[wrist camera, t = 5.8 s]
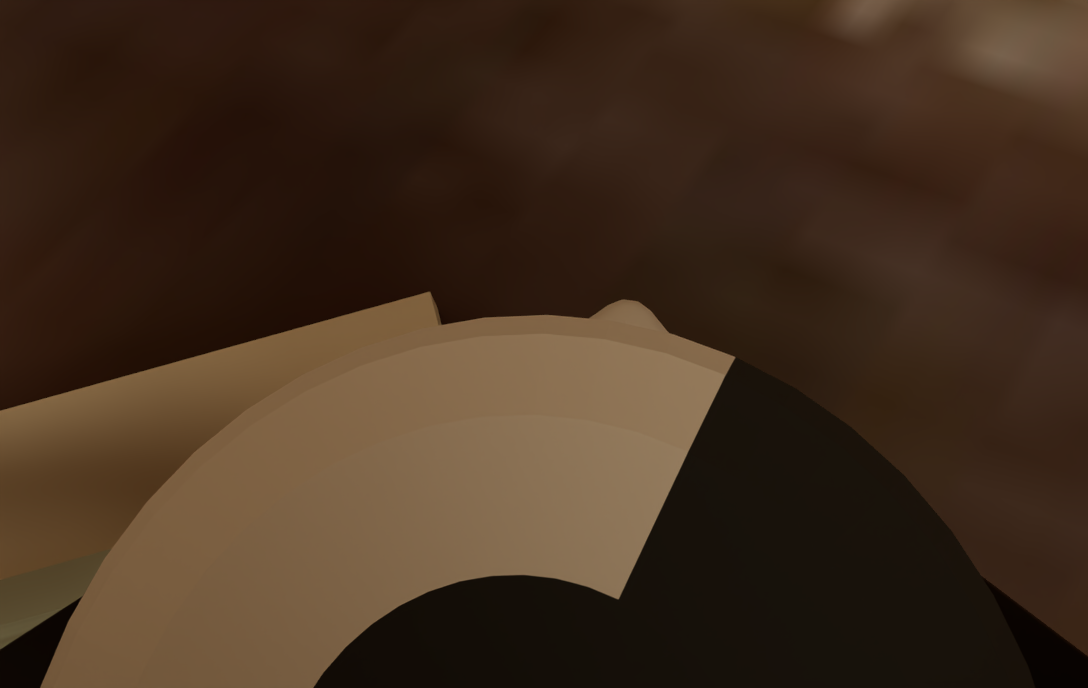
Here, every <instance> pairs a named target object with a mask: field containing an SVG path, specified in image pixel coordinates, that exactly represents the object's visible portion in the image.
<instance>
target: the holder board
mask: <svg viewBox="0 0 1088 688" xmlns="http://www.w3.org/2000/svg"><path fill="white" fill-rule="evenodd" d="M440 325H442V324H441V320H440V316H439V312H438V308H437V306H436V304H435V301H434V299H433V297H432V295H431V293H430V292H427V293H423V294H419V295H416V296H412V297H409V298H405V299H401V300H398V301H394V302H391V303H387V304H383V305H380V306H376V307H373V308H369V309H365V310H362V311H358V312H355V313H351V314H347V315H344V316H340V317H337V318H333V319H329V320H326V321H322V322H319V323H315V324H311V325H308V326H304V327H301V328H297V329H293V330H290V331H286V332H283V333H279V334H275V335H272V336H268V337H265V338H261V339H257V340H254V341H250V342H246V343H243V344H239V345H236V346H232V347H228V348H225V349H221V350H218V351H214V352H210V353H207V354H203V355H200V356H196V357H192V358H189V359H185V360H182V361H178V362H174V363H171V364H167V365H164V366H160V367H156V368H153V369H149V370H146V371H142V372H138V373H135V374H131V375H128V376H124V377H120V378H117V379H113V380H110V381H106V382H102V383H99V384H95V385H91V386H88V387H84V388H81V389H77V390H73V391H70V392H66V393H63V394H59V395H55V396H52V397H48V398H45V399H41V400H37V401H34V402H30V403H27V404H23V405H19V406H16V407H12V408H9V409H5V410H1V411H0V649H1V648H3V647H5V646H6V645H8V644H9V643H11V642H12V641H14V640H15V639H17V638H18V637H20V636H21V635H23V634H25V633H26V632H28V631H29V630H31V629H32V628H34V627H35V626H37V625H38V624H40V623H42V622H43V621H45V620H46V619H48V618H49V617H51V616H52V615H54V614H55V613H57V612H59V611H60V610H62V609H63V608H65V607H66V606H68V605H69V604H71V603H72V602H74V601H76V600H77V599H79V598H80V597H82V596H83V595H84V593H85V592H86V590H87V588H88V586H89V585H90V583H91V581H92V579H93V578H94V576H95V574H96V573H97V571H98V569H99V567H100V566H101V564H102V562H103V560H104V559H105V557H106V556H107V555H108V553H109V552H110V551H111V549H112V548H113V547H114V545H115V544H116V542H117V541H118V540H119V538H120V537H121V536H122V534H123V533H124V532H125V530H126V529H127V528H128V526H129V525H130V524H131V522H132V521H133V520H134V518H135V517H136V516H137V514H138V513H139V512H140V510H141V509H142V508H143V506H144V505H145V504H146V502H147V501H148V500H149V499H150V498H151V497H152V496H153V495H154V494H155V493H156V492H157V491H158V490H159V489H160V488H161V487H162V486H163V484H164V483H165V482H166V481H167V480H168V479H169V478H170V477H171V476H172V475H173V474H174V473H175V472H176V471H177V470H178V469H179V468H180V467H181V466H182V465H183V464H184V463H185V461H186V460H187V459H188V458H189V457H190V456H191V455H192V454H193V453H194V452H195V451H196V450H198V449H199V448H200V447H201V446H203V445H204V444H205V443H206V442H207V441H209V440H210V439H211V438H212V437H214V436H215V435H216V434H217V433H219V432H220V431H221V430H222V429H223V428H225V427H226V426H227V425H228V424H230V423H231V422H232V421H233V420H234V419H236V418H237V417H238V416H239V415H241V414H242V413H243V412H244V411H246V410H247V409H248V408H250V407H252V406H253V405H255V404H256V403H258V402H260V401H261V400H263V399H264V398H266V397H268V396H269V395H271V394H272V393H274V392H276V391H277V390H279V389H280V388H282V387H284V386H285V385H287V384H288V383H290V382H292V381H293V380H295V379H296V378H298V377H300V376H301V375H303V374H305V373H307V372H309V371H312V370H314V369H316V368H318V367H320V366H322V365H325V364H327V363H329V362H331V361H333V360H335V359H338V358H340V357H342V356H344V355H346V354H348V353H351V352H353V351H355V350H357V349H359V348H362V347H365V346H368V345H371V344H374V343H378V342H381V341H384V340H387V339H390V338H394V337H397V336H400V335H403V334H406V333H410V332H413V331H416V330H419V329H423V328H428V327H434V326H440Z"/></svg>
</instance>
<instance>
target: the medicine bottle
mask: <svg viewBox="0 0 1088 688" xmlns="http://www.w3.org/2000/svg"><path fill="white" fill-rule="evenodd" d="M40 688H1035V685H1034V682H1033V679H1032V676H1031V673H1030V670H1029V667H1028V665H1027V663H1026V661H1025V659H1024V657H1023V655H1022V653H1021V650H1020V648H1019V646H1018V644H1017V642H1016V640H1015V638H1014V636H1013V634H1012V632H1011V630H1010V628H1009V626H1008V624H1007V622H1006V620H1005V618H1004V616H1003V614H1002V612H1001V610H1000V607H999V605H998V603H997V601H996V599H995V597H994V595H993V594H992V592H991V591H990V589H989V587H988V586H987V584H986V583H985V581H984V580H983V578H982V577H981V575H980V574H979V572H978V571H977V569H976V568H975V566H974V565H973V563H972V562H971V560H970V558H969V557H968V555H967V554H966V552H965V551H964V549H963V548H962V546H961V545H960V543H959V542H958V540H957V539H956V537H955V536H954V534H953V533H952V531H951V530H950V529H949V528H948V526H947V525H946V524H945V523H944V522H943V521H942V519H941V518H940V517H939V516H938V515H937V513H936V512H935V511H934V510H933V509H932V508H931V506H930V505H929V504H928V503H927V502H926V501H925V499H924V498H923V497H922V496H921V495H920V494H919V492H918V491H917V490H916V489H915V488H914V486H913V485H912V484H911V483H910V482H909V481H908V479H907V478H906V477H905V476H904V475H903V474H902V473H901V472H900V471H899V470H898V469H896V468H895V467H894V466H893V465H892V464H891V463H890V462H889V461H888V460H887V459H885V458H884V457H883V456H882V455H881V454H880V453H879V452H878V451H877V450H876V449H874V448H873V447H872V446H871V445H870V444H869V443H868V442H867V441H866V440H865V439H863V438H862V437H861V436H860V435H859V434H858V433H857V432H856V431H855V430H854V429H852V428H851V427H850V426H848V425H847V424H846V423H844V422H843V421H841V420H840V419H838V418H837V417H836V416H834V415H833V414H831V413H830V412H828V411H827V410H826V409H824V408H823V407H821V406H820V405H818V404H817V403H816V402H814V401H813V400H811V399H810V398H808V397H807V396H806V395H804V394H803V393H801V392H800V391H798V390H797V389H795V388H794V387H792V386H790V385H788V384H786V383H784V382H782V381H780V380H778V379H776V378H775V377H773V376H771V375H769V374H767V373H765V372H763V371H761V370H759V369H757V368H755V367H753V366H752V365H750V364H748V363H746V362H744V361H742V360H740V359H738V358H736V357H734V356H731V355H728V354H726V353H723V352H720V351H717V350H715V349H712V348H709V347H706V346H704V345H701V344H698V343H695V342H693V341H690V340H687V339H685V338H682V337H679V336H676V335H673V334H669V333H668V332H667V330H666V329H665V328H664V327H663V325H662V324H661V323H660V322H659V320H658V319H657V318H656V317H655V316H654V314H653V313H652V312H651V311H650V310H649V309H648V308H646V307H645V306H643V305H642V304H641V303H639V302H638V301H631V300H620V301H617V302H615V303H612V304H609V305H608V306H606V307H605V308H603V309H602V310H600V311H599V312H598V313H596V314H595V315H593V316H592V317H590V318H589V319H588V318H576V317H565V316H554V315H535V316H512V317H489V318H480V319H474V320H468V321H463V322H457V323H451V324H446V325H440V326H434V327H428V328H423V329H419V330H416V331H413V332H410V333H406V334H403V335H400V336H397V337H394V338H390V339H387V340H384V341H381V342H378V343H374V344H371V345H368V346H365V347H362V348H359V349H357V350H355V351H353V352H351V353H348V354H346V355H344V356H342V357H340V358H338V359H335V360H333V361H331V362H329V363H327V364H325V365H322V366H320V367H318V368H316V369H314V370H312V371H309V372H307V373H305V374H303V375H301V376H300V377H298V378H296V379H295V380H293V381H292V382H290V383H288V384H287V385H285V386H284V387H282V388H280V389H279V390H277V391H276V392H274V393H272V394H271V395H269V396H268V397H266V398H264V399H263V400H261V401H260V402H258V403H256V404H255V405H253V406H252V407H250V408H248V409H247V410H246V411H244V412H243V413H242V414H241V415H239V416H238V417H237V418H236V419H234V420H233V421H232V422H231V423H230V424H228V425H227V426H226V427H225V428H223V429H222V430H221V431H220V432H219V433H217V434H216V435H215V436H214V437H212V438H211V439H210V440H209V441H207V442H206V443H205V444H204V445H203V446H201V447H200V448H199V449H198V450H196V451H195V452H194V453H193V454H192V455H191V456H190V457H189V458H188V459H187V460H186V461H185V463H184V464H183V465H182V466H181V467H180V468H179V469H178V470H177V471H176V472H175V473H174V474H173V475H172V476H171V477H170V478H169V479H168V480H167V481H166V482H165V483H164V484H163V486H162V487H161V488H160V489H159V490H158V491H157V492H156V493H155V494H154V495H153V496H152V497H151V498H150V499H149V500H148V501H147V502H146V504H145V505H144V506H143V508H142V509H141V510H140V512H139V513H138V514H137V516H136V517H135V518H134V520H133V521H132V522H131V524H130V525H129V526H128V528H127V529H126V530H125V532H124V533H123V534H122V536H121V537H120V538H119V540H118V541H117V542H116V544H115V545H114V547H113V548H112V549H111V551H110V552H109V553H108V555H107V556H106V557H105V559H104V560H103V562H102V564H101V566H100V567H99V569H98V571H97V573H96V574H95V576H94V578H93V579H92V581H91V583H90V585H89V586H88V588H87V590H86V592H85V593H84V595H83V597H82V599H81V600H80V602H79V604H78V606H77V607H76V609H75V611H74V613H73V614H72V616H71V618H70V620H69V621H68V624H67V626H66V628H65V631H64V633H63V635H62V638H61V640H60V642H59V645H58V647H57V649H56V652H55V654H54V656H53V659H52V661H51V664H50V666H49V668H48V671H47V673H46V675H45V678H44V680H43V682H42V685H41V687H40Z"/></svg>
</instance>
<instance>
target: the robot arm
mask: <svg viewBox="0 0 1088 688" xmlns="http://www.w3.org/2000/svg"><path fill="white" fill-rule="evenodd" d="M981 577H982V576H981ZM982 578H983V577H982ZM983 580H984V581H985V583H986V584H987V586H988V587H989V589H990V591H991V592H992V594H993V595H994V597H995V599H996V601H997V603H998V605H999V607H1000V610H1001V612H1002V614H1003V616H1004V618H1005V620H1006V622H1007V624H1008V626H1009V628H1010V630H1011V632H1012V634H1013V636H1014V638H1015V640H1016V642H1017V644H1018V646H1019V648H1020V650H1021V653H1022V655H1023V657H1024V659H1025V661H1026V663H1027V665H1028V667H1029V670H1030V673H1031V676H1032V679H1033V682H1034V685H1035V688H1088V656H1087V655H1085V654H1084V653H1083V652H1081V651H1080V650H1079V649H1077V648H1076V647H1075V646H1073V645H1072V644H1071V643H1069V642H1068V641H1067V640H1065V639H1064V638H1063V637H1062V636H1060V635H1059V634H1058V633H1056V632H1055V631H1054V630H1052V629H1051V628H1050V627H1048V626H1047V625H1046V624H1044V623H1043V622H1042V621H1040V620H1039V619H1038V618H1036V617H1035V616H1034V615H1032V614H1031V613H1030V612H1028V611H1027V610H1026V609H1024V608H1023V607H1022V606H1020V605H1019V604H1018V603H1017V602H1015V601H1014V600H1013V599H1011V598H1010V597H1009V596H1007V595H1006V594H1005V593H1003V592H1002V591H1001V590H999V589H998V588H997V587H995V586H994V585H993V584H991V583H990V582H989V581H987V580H986V579H985V578H983ZM82 597H83V596H82ZM82 597H80V598H79V599H77V600H76V601H74V602H72V603H71V604H69V605H68V606H66V607H65V608H63V609H62V610H60V611H59V612H57V613H55V614H54V615H52V616H51V617H49V618H48V619H46V620H45V621H43V622H42V623H40V624H38V625H37V626H35V627H34V628H32V629H31V630H29V631H28V632H26V633H25V634H23V635H21V636H20V637H18V638H17V639H15V640H14V641H12V642H11V643H9V644H8V645H6V646H5V647H3V648H1V649H0V688H40V687H41V685H42V682H43V680H44V678H45V675H46V673H47V671H48V668H49V666H50V664H51V661H52V659H53V656H54V654H55V652H56V649H57V647H58V645H59V642H60V640H61V638H62V635H63V633H64V631H65V628H66V626H67V624H68V621H69V620H70V618H71V616H72V614H73V613H74V611H75V609H76V607H77V606H78V604H79V602H80V600H81V599H82Z"/></svg>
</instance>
